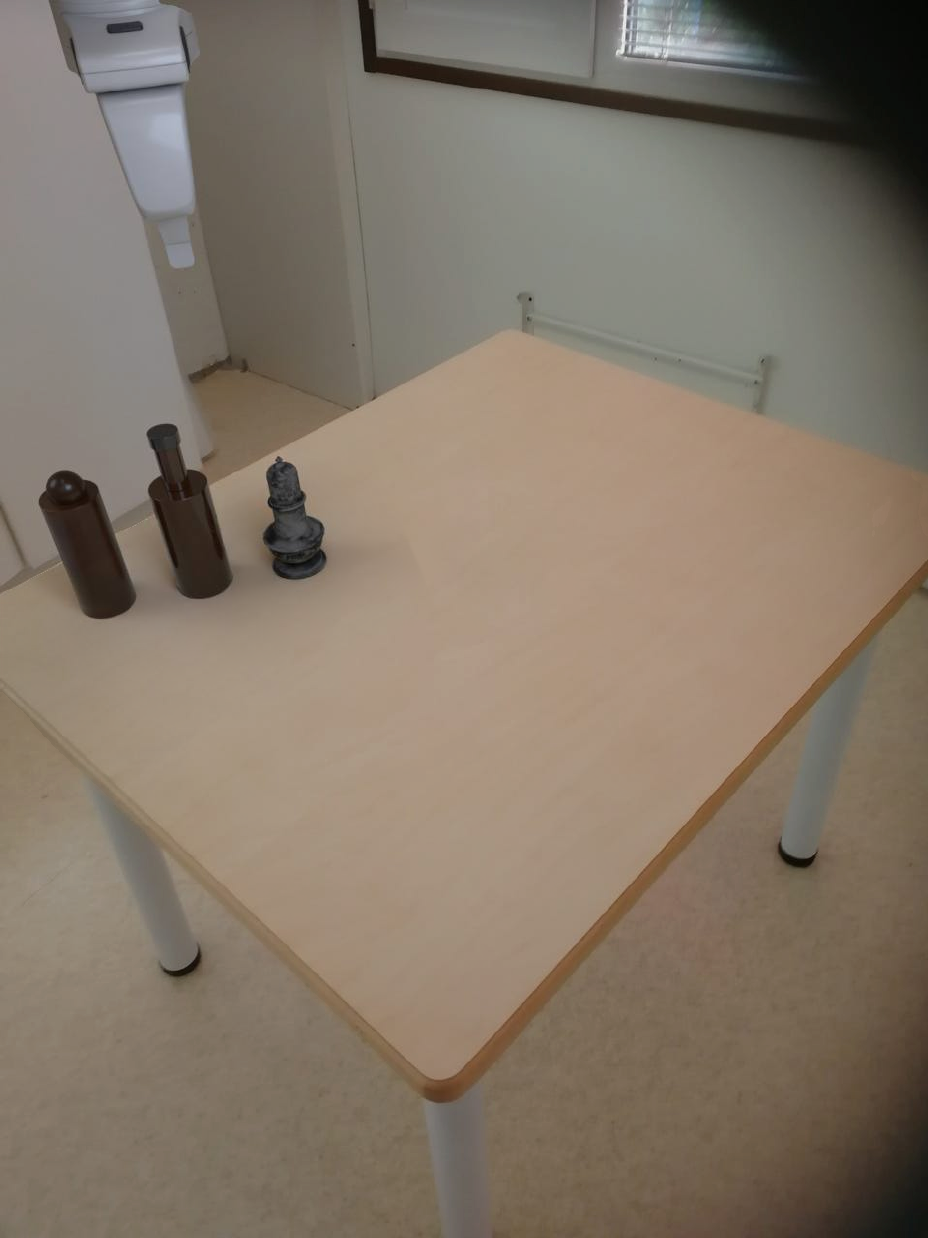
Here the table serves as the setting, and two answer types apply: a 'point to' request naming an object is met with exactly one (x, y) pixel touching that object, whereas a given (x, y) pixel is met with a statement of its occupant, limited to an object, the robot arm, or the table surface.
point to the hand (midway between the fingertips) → (179, 242)
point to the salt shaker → (292, 526)
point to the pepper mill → (87, 545)
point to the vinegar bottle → (187, 519)
